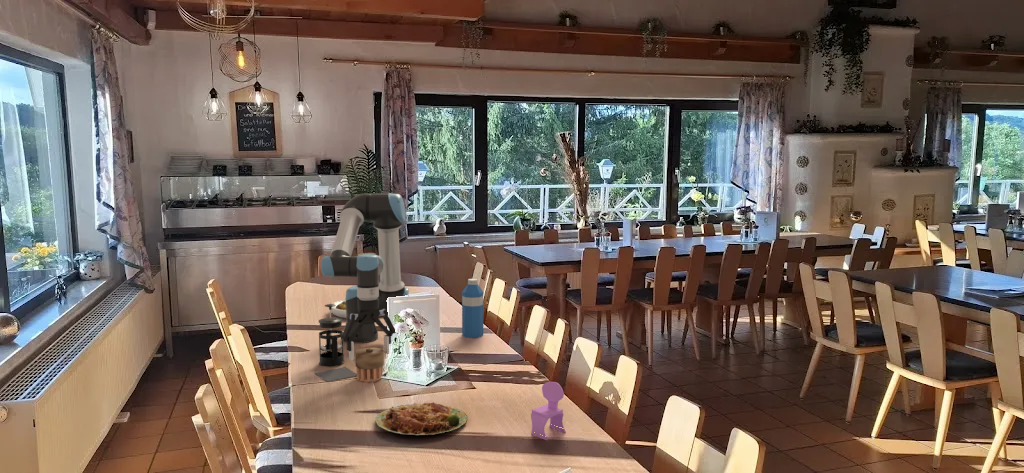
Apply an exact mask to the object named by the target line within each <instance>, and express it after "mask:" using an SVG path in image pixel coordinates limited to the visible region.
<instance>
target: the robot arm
mask: <svg viewBox="0 0 1024 473" xmlns="http://www.w3.org/2000/svg"><path fill="white" fill-rule="evenodd" d="M405 207H406V205H405V202H404V199H403V196H402V195H401V194H399V193H391V192H388V193H387V192H386V193H385V192H383V193H359V194H358V195H355V196H354V197H352V198H350V199H349V200H348V201H347V202H346V203H345V204H344V205H343V207H342V208H341V211H340V213H339V221H340V223H339V226H338V229H337V233H336V236H335V239H334V243H333V244H332V245H333V246H332V248H331V252H330V254H329V255H324V256H323V257H322V258H321V261H320V272H321V274H322V276H323V277H329V278H330V277H332V278H341V277H342V278H344V277H345V278H346V277H352V278H353V277H354V278H356V279H357V280H356V281H357V282H356V283H357V284H356V285H353V286H350V287H348V288H347V289H346V291H345V299H344V300H346V321H345V325H344V328H343V334H342V337H340V339H341V341H342V340H343V342H345V344H346V347H345V348H346V351H348V359H349V360H350V361H354V360H355V344H362V343H363V344H364V343H369V342H373V341H377V340H378V339H379V332H378V329H377V326H378V327H379V328H380V330H382V331H383V333H384V334H383V350H384V354H386V355H389V354H390V345H391V344H392V337H393V334H396V332H397V331H396V332H395V330H396V328H395V326H394V325H393V322H392V321H391V318H390V317H389V315H388V312H387V302H386V300H387V298H388V297H396V296H405V295H408V296H409V294H410V293H409V292H410V291H409V287H405V286H406V285H405V282H404V281H402V276H401V272H402V271H401V256H400V254H401V253H400V252H401V251H400V233H399V229H400V228H401V227H402V226H403V223H404V222H405V221H406V208H405ZM364 222H368V223H369V222H371V223H373V228H374V229H376V230H377V240H378V243H377V244H378V254H372V253H367V254H366V253H364V254H359V255H356V256H353V252H354V248H355V244H356V240H357V236H358V233H359V229H360V227H361V226H362V225H363V224H364ZM379 276H380V277H379ZM379 278H380V280H379ZM379 281H380V282H379ZM379 315H382V316H381V317H382V319H383V320H384V322H385V324H386V326H387V327H386V326H385V324H384V323H383V322H382V321H381V319H379Z"/></svg>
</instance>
